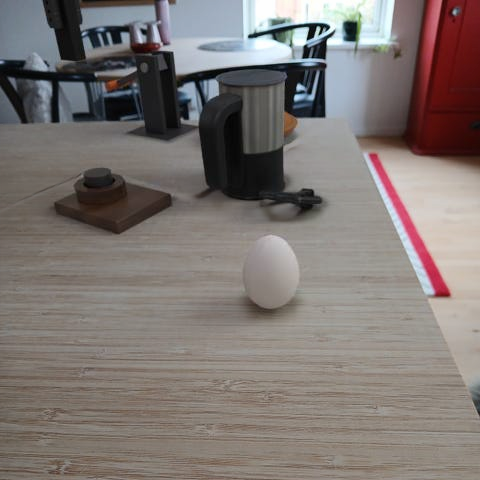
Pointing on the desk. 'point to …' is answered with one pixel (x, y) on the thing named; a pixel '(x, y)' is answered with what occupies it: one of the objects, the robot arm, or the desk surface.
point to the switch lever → (132, 76)
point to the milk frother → (248, 138)
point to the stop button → (98, 177)
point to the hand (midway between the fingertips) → (73, 59)
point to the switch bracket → (159, 98)
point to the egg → (270, 272)
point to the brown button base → (112, 204)
